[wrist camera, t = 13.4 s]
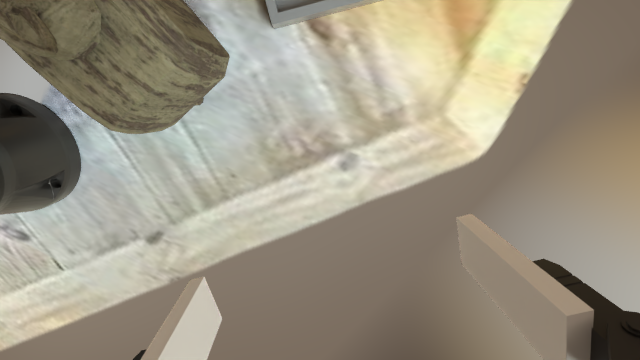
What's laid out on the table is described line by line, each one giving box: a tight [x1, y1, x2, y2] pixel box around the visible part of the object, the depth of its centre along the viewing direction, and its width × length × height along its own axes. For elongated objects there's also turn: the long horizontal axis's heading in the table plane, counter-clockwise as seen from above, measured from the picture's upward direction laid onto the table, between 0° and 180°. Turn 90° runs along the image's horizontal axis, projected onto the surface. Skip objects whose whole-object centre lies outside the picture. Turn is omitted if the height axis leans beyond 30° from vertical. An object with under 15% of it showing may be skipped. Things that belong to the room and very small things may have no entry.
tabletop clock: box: [0, 0, 229, 134], centre depth 24 cm, size 14×9×25 cm, turn 40°
